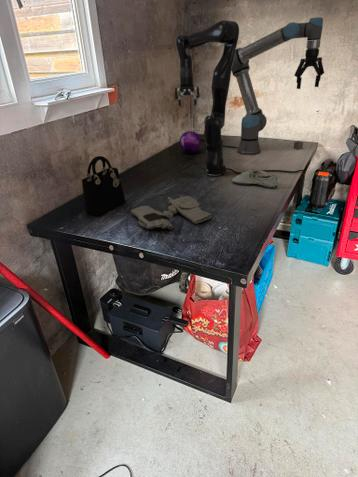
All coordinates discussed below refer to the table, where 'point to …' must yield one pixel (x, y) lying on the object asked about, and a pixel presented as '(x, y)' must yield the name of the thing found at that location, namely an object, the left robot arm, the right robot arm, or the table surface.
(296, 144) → the metal block
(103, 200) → the handbag
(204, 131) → the boot
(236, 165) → the table surface
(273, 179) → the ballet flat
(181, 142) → the decorative orb
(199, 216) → the pair of gloves
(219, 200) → the table surface
